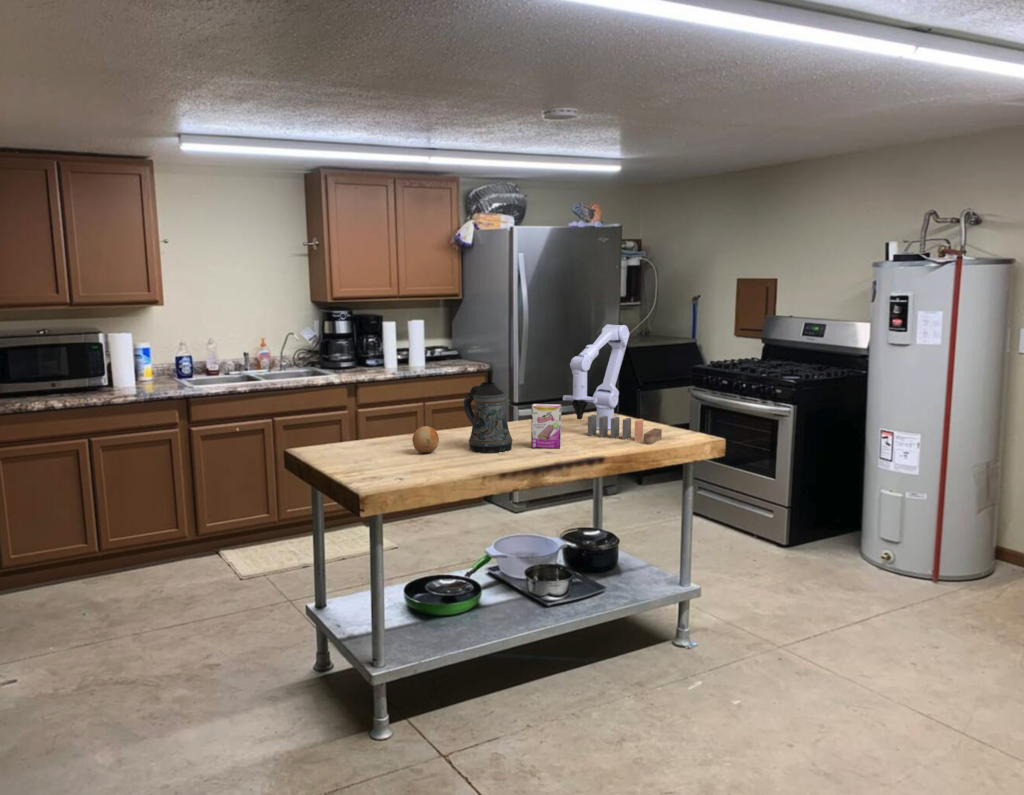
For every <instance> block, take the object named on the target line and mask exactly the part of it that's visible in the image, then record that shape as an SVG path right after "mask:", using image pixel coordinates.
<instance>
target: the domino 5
mask: <svg viewBox="0 0 1024 795" xmlns="http://www.w3.org/2000/svg"><path fill="white" fill-rule="evenodd" d="M642 438H643V439H644V418H638V419H636V420H635V421H634V441H635V440H636V441H635V442H639V440H640V441H642V440H643V439H642ZM641 439H642V440H641Z"/></svg>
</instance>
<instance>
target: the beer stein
mask: <svg viewBox="0 0 1024 795" xmlns="http://www.w3.org/2000/svg"><path fill="white" fill-rule="evenodd" d="M506 396H507V395H506V393H505V392H504V391H503V390H502V389H500V388H498V386H497V385H496V384H495V382H493V381H492V382H491V381H489V382H487V381H485V382H481V384H480V385H474V386H472V388H471V389H470V392H469V393H467V394H466V395H465V398H464V399H463V400H464V401H463V410H464V412H465V415H466V418H467V419H468V420H469V422H470V423H471V424H472V425H471V426H472V427H471V432H470V436H469V438H468V444H469V450H470V451H471V450H472V451H471V452H473V451H474V453H477V452H480V454H500V453H499V452H502V453H506V452H505V451H507V452H509V451H511V450H512V446H513V438H512V435H511V433H510V432H511V431H510V429H509V424H508V420H507V412H506V407H505V401H506V399H507V397H506ZM473 401H474V411H473V408H472V402H473Z"/></svg>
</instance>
